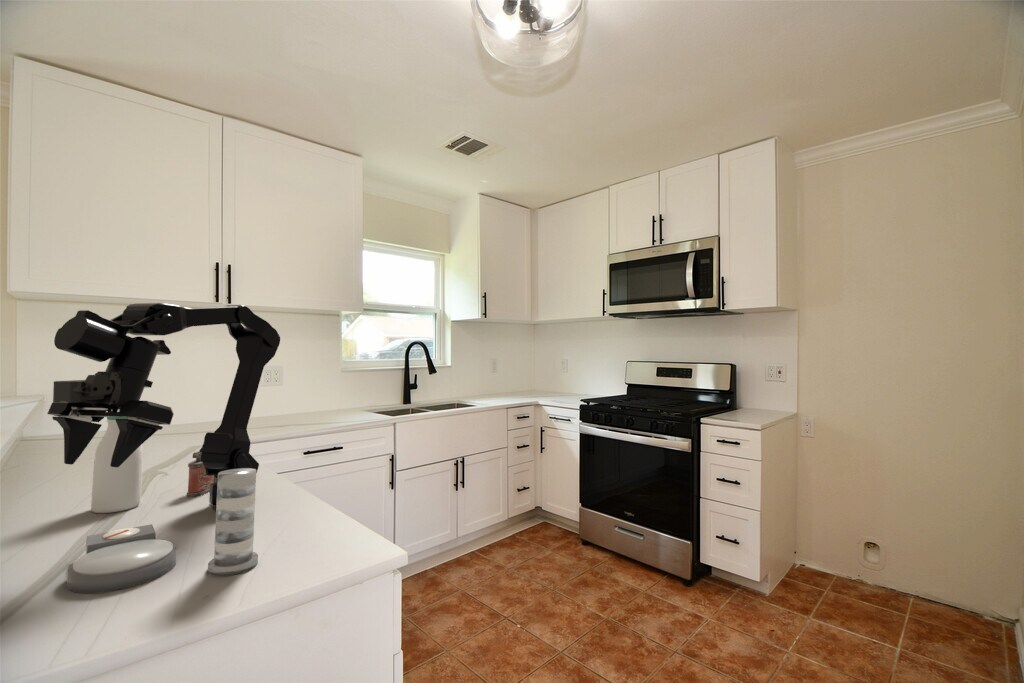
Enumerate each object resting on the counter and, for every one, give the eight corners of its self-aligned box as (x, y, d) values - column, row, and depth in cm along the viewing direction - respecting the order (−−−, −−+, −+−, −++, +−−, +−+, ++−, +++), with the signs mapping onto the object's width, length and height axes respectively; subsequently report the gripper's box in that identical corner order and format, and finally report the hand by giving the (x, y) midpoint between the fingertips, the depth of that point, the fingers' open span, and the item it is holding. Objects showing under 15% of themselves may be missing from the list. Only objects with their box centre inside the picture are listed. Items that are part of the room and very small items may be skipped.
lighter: (203, 488, 110) (205, 446, 110) (218, 487, 110) (220, 446, 111) (182, 497, 102) (184, 452, 102) (198, 497, 102) (200, 452, 103)
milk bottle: (148, 505, 96) (153, 410, 97) (103, 516, 89) (109, 413, 90) (128, 500, 99) (133, 407, 100) (82, 510, 92) (88, 411, 93)
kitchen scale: (165, 540, 78) (166, 519, 78) (182, 573, 66) (183, 548, 66) (67, 560, 69) (69, 537, 70) (66, 603, 58) (67, 574, 58)
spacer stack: (251, 553, 73) (254, 465, 74) (263, 567, 68) (266, 472, 69) (203, 565, 69) (208, 471, 69) (213, 580, 64) (217, 479, 65)
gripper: (32, 354, 72) (-17, 455, 66) (126, 354, 68) (83, 461, 63) (103, 376, 82) (66, 465, 77) (189, 377, 78) (156, 471, 73)
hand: (91, 465), depth 72 cm, fingers open, 9 cm apart
